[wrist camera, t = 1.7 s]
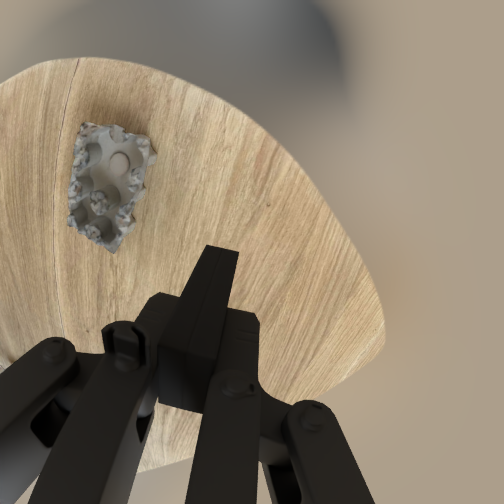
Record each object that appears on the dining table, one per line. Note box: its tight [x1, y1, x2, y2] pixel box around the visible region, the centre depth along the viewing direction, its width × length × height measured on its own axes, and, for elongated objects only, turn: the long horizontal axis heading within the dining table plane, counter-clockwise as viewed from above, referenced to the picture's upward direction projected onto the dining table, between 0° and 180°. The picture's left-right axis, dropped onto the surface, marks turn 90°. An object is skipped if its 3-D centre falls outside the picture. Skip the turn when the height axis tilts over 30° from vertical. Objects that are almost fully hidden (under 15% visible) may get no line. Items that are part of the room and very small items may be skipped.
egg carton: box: [67, 122, 157, 254], centre depth 21 cm, size 11×8×4 cm
